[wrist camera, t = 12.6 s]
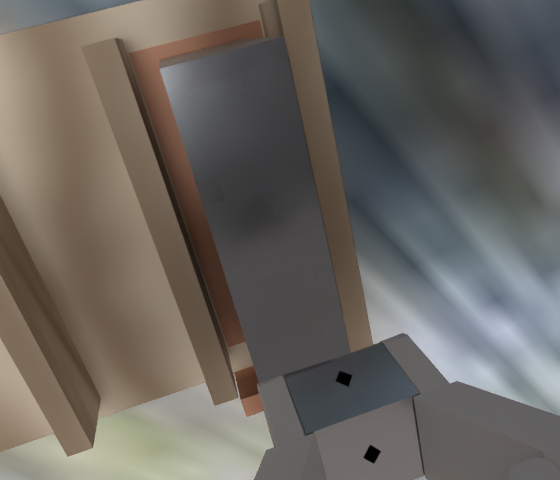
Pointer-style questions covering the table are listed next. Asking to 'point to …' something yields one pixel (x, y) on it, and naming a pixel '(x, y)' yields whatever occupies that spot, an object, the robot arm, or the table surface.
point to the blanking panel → (259, 199)
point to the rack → (131, 217)
